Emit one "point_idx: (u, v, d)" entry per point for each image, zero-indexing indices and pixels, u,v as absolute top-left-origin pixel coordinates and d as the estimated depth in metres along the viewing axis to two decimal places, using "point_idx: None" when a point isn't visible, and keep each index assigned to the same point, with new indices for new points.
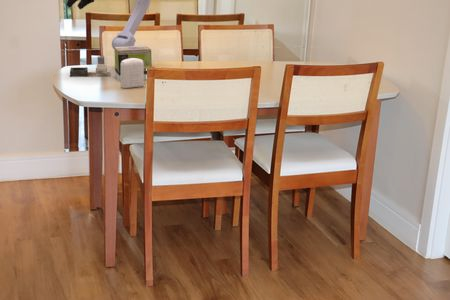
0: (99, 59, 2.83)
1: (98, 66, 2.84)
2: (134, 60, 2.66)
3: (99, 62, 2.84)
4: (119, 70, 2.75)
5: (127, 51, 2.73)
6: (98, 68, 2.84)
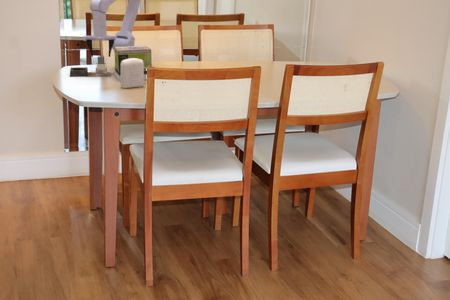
0: (99, 59, 2.83)
1: (98, 66, 2.84)
2: (134, 60, 2.66)
3: (99, 62, 2.84)
4: (119, 70, 2.75)
5: (127, 51, 2.73)
6: (98, 68, 2.84)
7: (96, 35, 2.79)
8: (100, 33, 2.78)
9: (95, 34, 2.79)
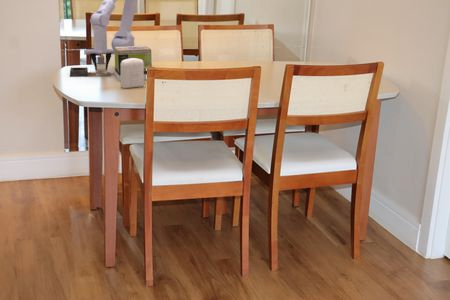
0: (99, 59, 2.83)
1: (98, 66, 2.84)
2: (134, 60, 2.66)
3: (99, 62, 2.84)
4: (119, 70, 2.75)
5: (127, 51, 2.73)
6: (98, 68, 2.84)
7: (97, 49, 2.81)
8: (101, 47, 2.81)
9: (96, 48, 2.81)
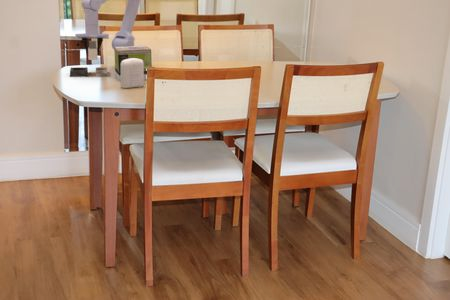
0: (90, 43, 2.80)
1: (89, 50, 2.81)
2: (134, 60, 2.66)
3: (90, 46, 2.81)
4: (119, 70, 2.75)
5: (127, 51, 2.73)
6: (89, 52, 2.81)
7: (88, 33, 2.78)
8: (92, 31, 2.78)
9: (87, 32, 2.78)
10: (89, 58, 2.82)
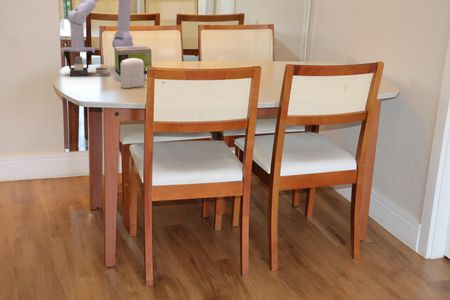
0: (76, 59, 2.82)
1: (75, 66, 2.82)
2: (134, 60, 2.66)
3: (76, 62, 2.82)
4: (119, 70, 2.75)
5: (127, 51, 2.73)
6: (75, 68, 2.82)
7: (74, 47, 2.79)
8: (78, 45, 2.78)
9: (73, 46, 2.79)
10: None
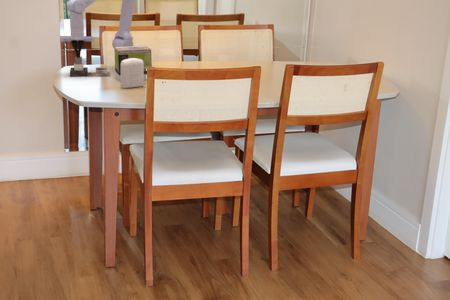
0: (76, 59, 2.81)
1: (75, 66, 2.82)
2: (134, 60, 2.66)
3: (76, 62, 2.82)
4: (119, 70, 2.75)
5: (127, 51, 2.73)
6: (75, 68, 2.82)
7: (73, 36, 2.77)
8: (77, 34, 2.77)
9: (72, 35, 2.77)
10: None
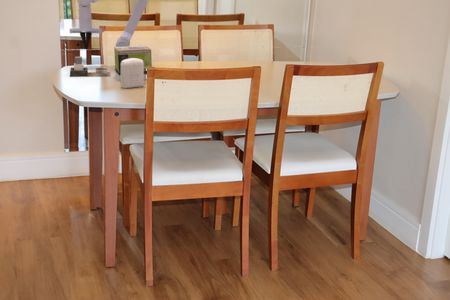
0: (76, 59, 2.82)
1: (75, 66, 2.82)
2: (134, 60, 2.66)
3: (76, 62, 2.82)
4: (119, 70, 2.75)
5: (127, 51, 2.73)
6: (75, 68, 2.82)
7: (82, 28, 2.90)
8: (86, 26, 2.90)
9: (81, 27, 2.90)
10: None
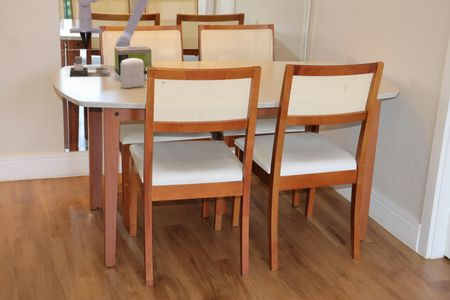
0: (76, 59, 2.82)
1: (75, 66, 2.82)
2: (134, 60, 2.66)
3: (76, 62, 2.82)
4: (119, 70, 2.75)
5: (127, 51, 2.73)
6: (75, 68, 2.82)
7: (82, 28, 2.90)
8: (86, 26, 2.90)
9: (81, 27, 2.90)
10: None
